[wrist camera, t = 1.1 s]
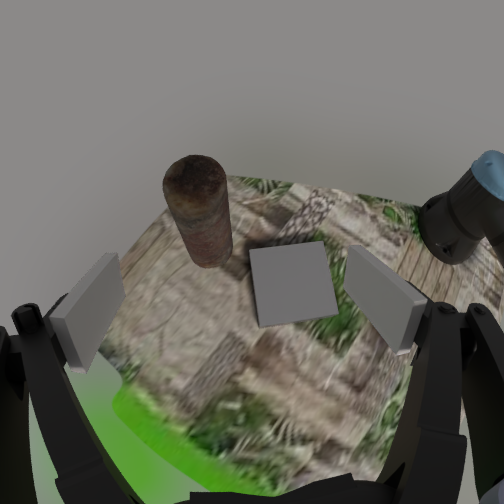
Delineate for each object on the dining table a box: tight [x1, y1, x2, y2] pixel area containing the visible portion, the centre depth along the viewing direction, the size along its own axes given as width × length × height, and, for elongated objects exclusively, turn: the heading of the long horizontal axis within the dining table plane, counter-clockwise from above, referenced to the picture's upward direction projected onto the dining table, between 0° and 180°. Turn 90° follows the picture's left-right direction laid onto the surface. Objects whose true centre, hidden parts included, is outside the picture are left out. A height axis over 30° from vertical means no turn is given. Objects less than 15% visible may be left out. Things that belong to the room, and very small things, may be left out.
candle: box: [163, 155, 233, 268], centre depth 38 cm, size 8×7×20 cm
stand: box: [249, 241, 339, 328], centre depth 44 cm, size 12×12×3 cm
